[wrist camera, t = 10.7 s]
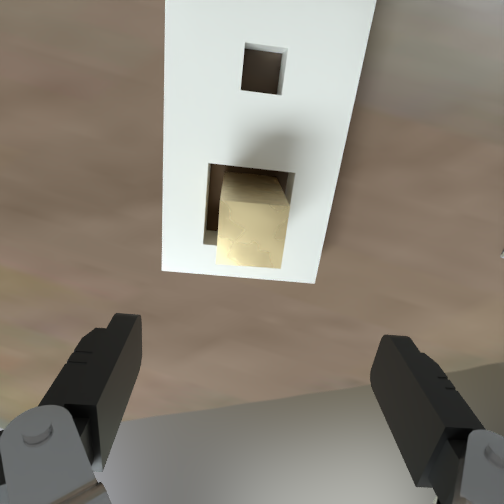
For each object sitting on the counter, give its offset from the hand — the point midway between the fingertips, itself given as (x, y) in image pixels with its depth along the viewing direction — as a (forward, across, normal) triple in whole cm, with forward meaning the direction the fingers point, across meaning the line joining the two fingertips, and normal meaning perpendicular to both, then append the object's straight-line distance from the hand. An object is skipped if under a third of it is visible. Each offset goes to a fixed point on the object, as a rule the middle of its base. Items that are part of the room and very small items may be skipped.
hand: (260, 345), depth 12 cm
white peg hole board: (+18, 0, -4) cm, 18 cm away
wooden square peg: (+18, 0, 0) cm, 18 cm away
